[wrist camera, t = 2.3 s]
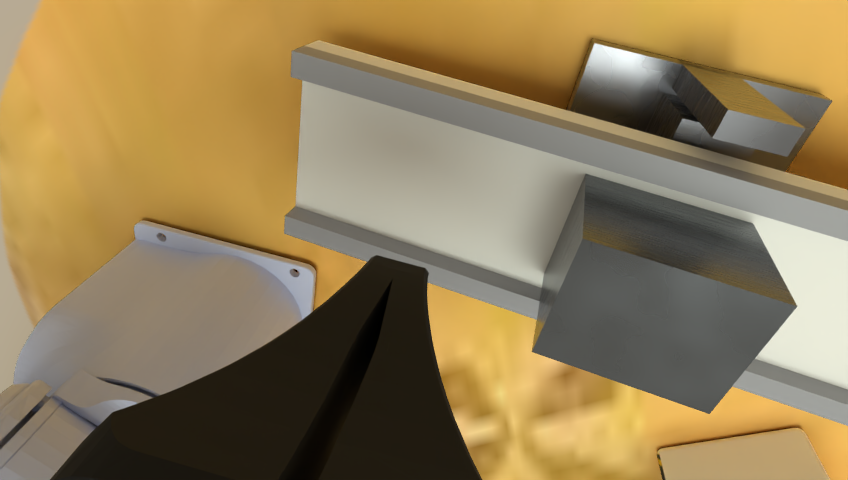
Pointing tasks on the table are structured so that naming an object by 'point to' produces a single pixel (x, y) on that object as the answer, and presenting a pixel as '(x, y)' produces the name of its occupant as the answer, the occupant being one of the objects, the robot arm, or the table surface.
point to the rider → (658, 294)
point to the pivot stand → (696, 104)
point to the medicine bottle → (745, 458)
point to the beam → (545, 200)
